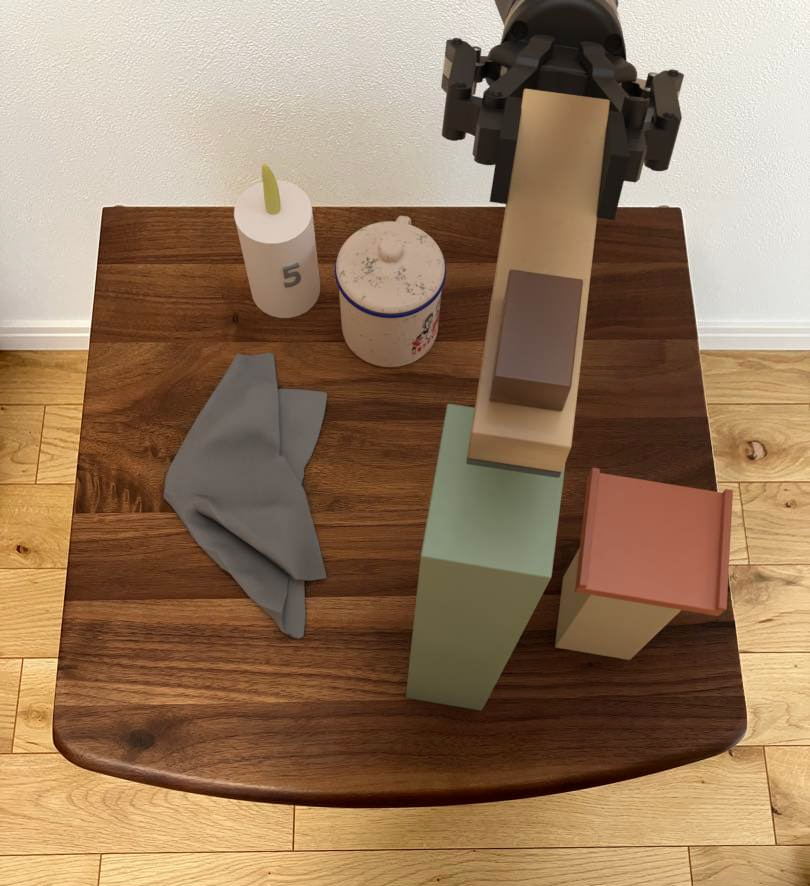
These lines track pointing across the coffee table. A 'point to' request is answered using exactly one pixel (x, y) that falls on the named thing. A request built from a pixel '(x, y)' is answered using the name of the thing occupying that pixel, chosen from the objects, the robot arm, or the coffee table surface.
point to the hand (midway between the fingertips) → (558, 179)
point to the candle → (278, 246)
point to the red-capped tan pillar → (643, 563)
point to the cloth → (253, 486)
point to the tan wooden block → (541, 287)
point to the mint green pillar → (477, 570)
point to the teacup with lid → (390, 292)
